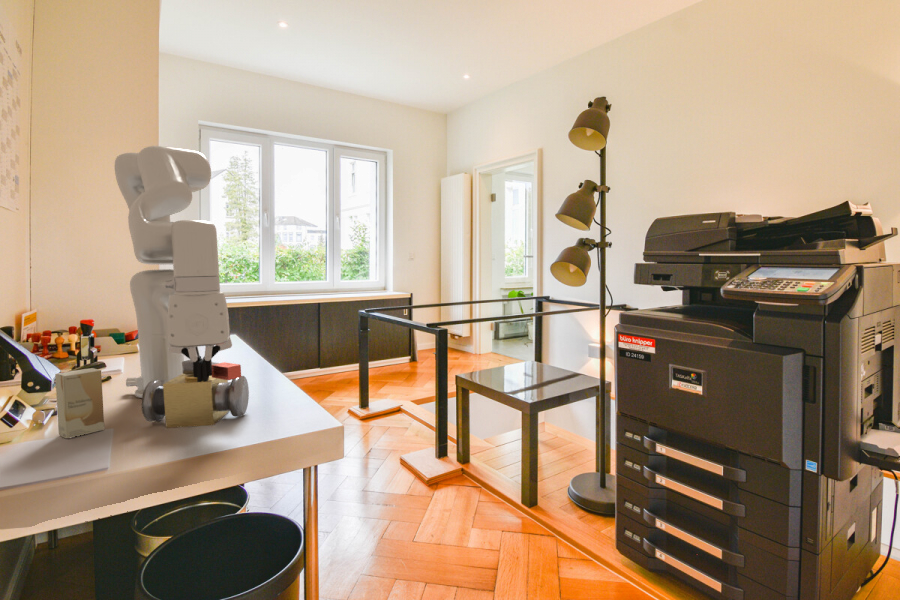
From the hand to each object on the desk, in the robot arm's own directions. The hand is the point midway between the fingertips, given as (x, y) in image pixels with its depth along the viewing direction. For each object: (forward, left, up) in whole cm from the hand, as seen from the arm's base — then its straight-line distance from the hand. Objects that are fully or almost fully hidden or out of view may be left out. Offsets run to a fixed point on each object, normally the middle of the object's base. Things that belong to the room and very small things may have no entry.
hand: (203, 380), depth 87 cm
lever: (0, +5, 0) cm, 5 cm away
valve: (-4, +8, -10) cm, 13 cm away
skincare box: (-24, +4, -10) cm, 27 cm away
